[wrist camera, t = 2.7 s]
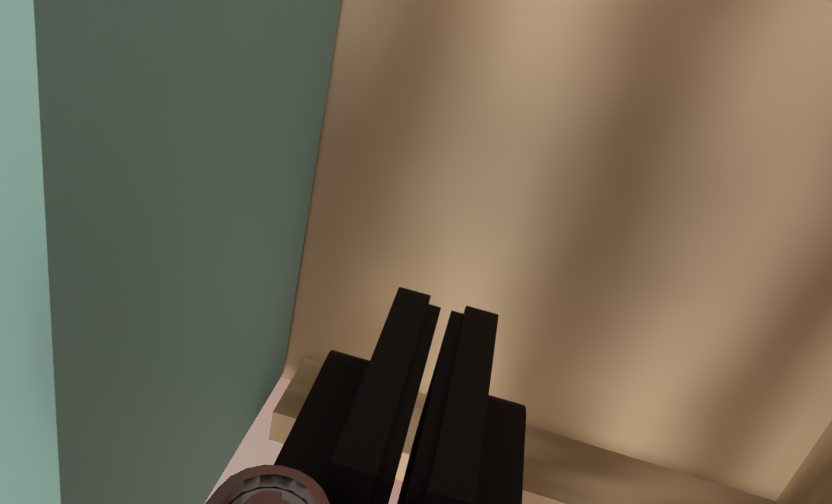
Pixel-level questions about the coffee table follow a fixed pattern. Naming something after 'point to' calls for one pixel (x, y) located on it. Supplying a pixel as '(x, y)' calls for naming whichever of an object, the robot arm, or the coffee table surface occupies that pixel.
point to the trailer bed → (592, 231)
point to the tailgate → (149, 235)
